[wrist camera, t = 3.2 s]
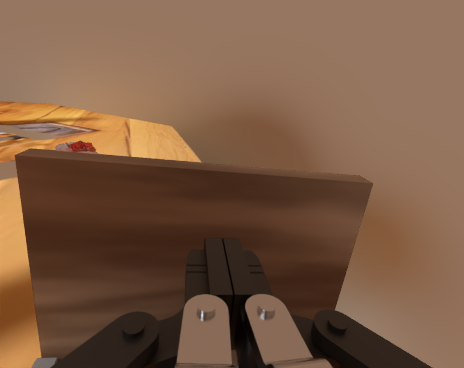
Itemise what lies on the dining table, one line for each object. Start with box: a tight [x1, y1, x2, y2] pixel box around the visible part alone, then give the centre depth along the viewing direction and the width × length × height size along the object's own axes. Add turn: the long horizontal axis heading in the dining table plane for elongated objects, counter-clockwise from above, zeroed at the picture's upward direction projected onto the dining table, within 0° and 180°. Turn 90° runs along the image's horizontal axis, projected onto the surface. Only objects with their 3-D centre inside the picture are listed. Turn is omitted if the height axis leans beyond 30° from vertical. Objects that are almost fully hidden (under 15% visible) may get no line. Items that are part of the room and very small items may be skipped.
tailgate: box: [15, 149, 373, 367], centre depth 19 cm, size 2×20×16 cm, turn 97°
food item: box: [56, 141, 98, 154], centre depth 58 cm, size 14×8×10 cm, turn 45°
